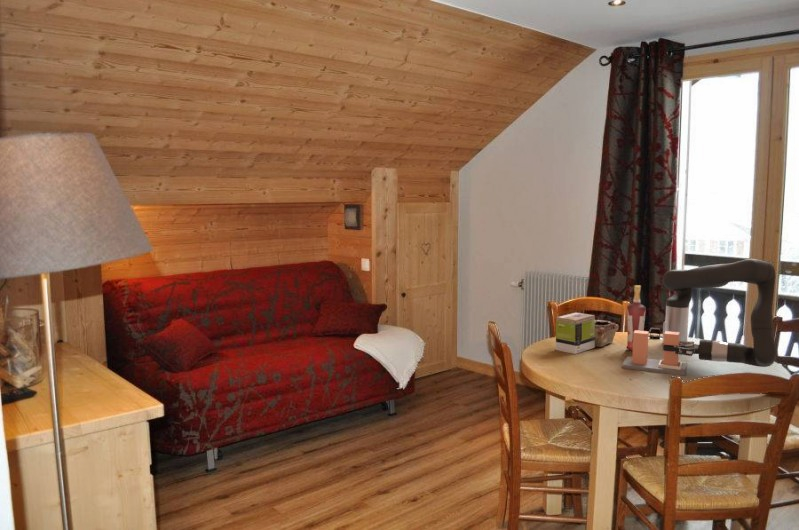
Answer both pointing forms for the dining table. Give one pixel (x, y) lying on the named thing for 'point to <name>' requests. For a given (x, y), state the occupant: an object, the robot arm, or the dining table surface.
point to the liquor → (635, 317)
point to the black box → (655, 335)
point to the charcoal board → (642, 363)
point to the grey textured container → (604, 332)
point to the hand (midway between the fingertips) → (663, 345)
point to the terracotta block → (670, 356)
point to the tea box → (575, 332)
